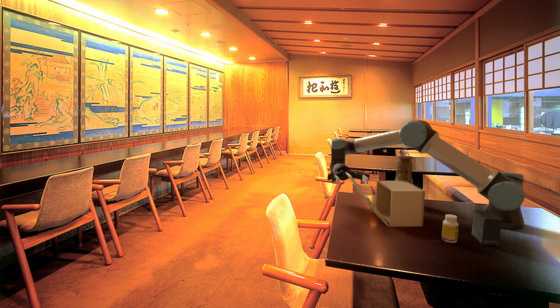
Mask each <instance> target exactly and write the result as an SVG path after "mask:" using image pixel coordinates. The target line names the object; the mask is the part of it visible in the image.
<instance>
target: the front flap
mask: <svg viewBox="0 0 560 308" xmlns="http://www.w3.org/2000/svg"><path fill="white" fill-rule="evenodd" d="M346 174H347V176H348V177H349V178H350V179H349V180H350V181H351V182H352V184H353V185H354V188H355V189H356V191H357V192H358V193H359V195H360V196H361V197H362V198H363V200H364V201H365V203H366V204H367V205H368V207H369V208H370V209H371V211H372V213H374V214H375V216H376V217H378V218H379V219H380V220H381V221H382V222H383V224H385V225H386V226H387V227H390V224H389V222H388V221H386V220H385V219H384V218H383V217H382V215H381V214H380V213H379V211H378V210H377V208H376V205H375V204H374V203H373V201H372V200H371V199H370V197H369V196H368V195H366V194H365V193H364V191H363V190H362V188H361V187H360V186H359V184H358V183H357V182H356V181H355V178H354V179H353V178H352V176H351V175H350V174H348V173H347V172H346Z"/></svg>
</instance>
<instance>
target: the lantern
mask: <svg viewBox="0 0 560 308" xmlns="http://www.w3.org/2000/svg"><path fill="white" fill-rule="evenodd" d="M404 149H406V151H407V154H408V155H402V154H403V151H404ZM398 158H399V160H398V161H397V163H396V165H397V166H396V174H395V179H394V181H407V182H409V183H411V184H414V183H413V182H414V180H413V176H412V172H413V171H414V169H413V161H412V160H413V159H414V157H413V156H411V155H410V154H409V149H408V148H407V147H404V148H402V150H401V152H400V155H398Z"/></svg>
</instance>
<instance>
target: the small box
mask: <svg viewBox="0 0 560 308" xmlns="http://www.w3.org/2000/svg"><path fill="white" fill-rule="evenodd" d="M472 214H473V215H472V216H473V218H472V225H471V233H470V235H471V236H472V237H473V238H474V239H475V240H476V241H477V242H478V243H479V244H480V245H483V246H484V245H485V246H492V247H493V246H496V247H499V246H500V245H501V244H500V242H501V232H502V228H501V225H502V219H501V218H499V217H498V216H496V215H495V214H493V213H492V212H490V211H485V210H480V209H473V213H472Z"/></svg>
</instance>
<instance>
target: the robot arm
mask: <svg viewBox="0 0 560 308" xmlns="http://www.w3.org/2000/svg"><path fill="white" fill-rule="evenodd" d="M402 144H403V145H404V146H406V147H408V148H412V149H414V150H415V151H416V152H418V153H420V154H421V155H423V154H428V155H429V156H430V157H432V158H433V159H435V161H437V162H439V163H440V164H442V165H443V166H445V168H448V169H450V170H451V171H452V172H454V173H455V174H457V175H458V176H459V177H461V178H463V179H464V180H465V181H466V182H469V183H470V184H471V185H473V186H474V187H476V189H477V193H478V194H479V195H480V196H482V197H484V198H485V199H487V200H488V204H487V206H486V208H485V210H484V211H490V212H492V213H493V214H495V215H496V216H498V217H499V218H501V219H502V225H501V229H506V230H508V229H509V230H520V229H521V230H522V229H523V228H525V220H524V216H523V212H522V208H521V207H522V204H523V203H524V202H525V199H526V195H525V194H526V193H525V191H524V188H523V187H524V182H525V179H524V177H525V176H524V174H522V173H517V172H509V171H506V172H505V171H499V170H490V169H489V168H487V167H486V166H484V165H482V164H481V163H480V162H478V161H476V160H475V159H473V158H472V157H470V156H469V155H467V154H465V153H464V152H462V151H461V150H459V149H458V148H456V147H454V146H453V145H452V144H450V143H449V142H447V141H446V140H444V139H442V138H441V137H440V135H439V132H438V131H436V130H435V129H433V127H432V125H431V124H430V123H429V122H427V121H425V120H422V119H421V120H420V119H418V120H415V119H412V120H409V121H407V122H405V123H404V124H403V125H402V126H401V127H400V128H398V129H394V130H390V131H385V132H381V133H376V134H372V135H366V136H363V137H359V138H355V139H351V140H346V139H345V138H333V139H332V140H331V145H330V147H331V148H330V156H331V157H330V164H329V170H330V173H328V174H327V177H326V178H327V179H326V180H327V181H331V183H335V184H337V185H340V181H347V180H350V178H349V177H348V176H347V174H346V172H347V173H348V174H350V175H351V176H352V178H353V179H354V180H355V179H356V180H359V181H360V180H361V182H363V183H364V184H365V185H369V181H370V176H371V175H370V174H368V173H364V172H360V171H358V170H356V171H352V170H351V169H350V167H349V166H347V165H346V156H348V155H353V154H356V153H361V152H362V153H363V152H366V151H367V152H368V151H370V150H372V151H373V150H375V149H382V148H386V147H393V146H397V145H402Z"/></svg>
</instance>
